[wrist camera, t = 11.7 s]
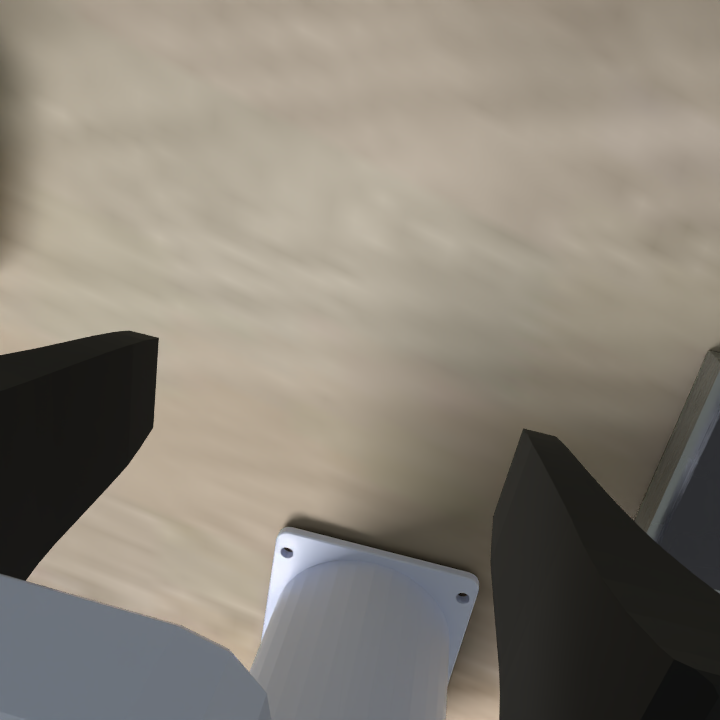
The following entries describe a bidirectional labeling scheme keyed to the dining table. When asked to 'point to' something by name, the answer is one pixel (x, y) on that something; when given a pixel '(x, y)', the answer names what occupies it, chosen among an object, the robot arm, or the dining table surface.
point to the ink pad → (690, 482)
